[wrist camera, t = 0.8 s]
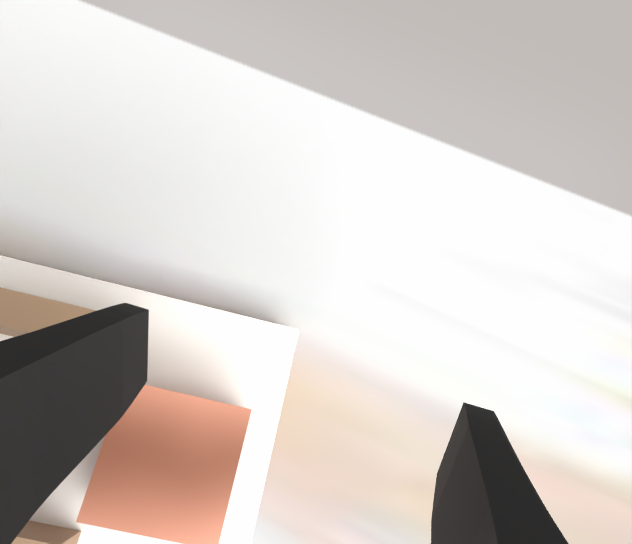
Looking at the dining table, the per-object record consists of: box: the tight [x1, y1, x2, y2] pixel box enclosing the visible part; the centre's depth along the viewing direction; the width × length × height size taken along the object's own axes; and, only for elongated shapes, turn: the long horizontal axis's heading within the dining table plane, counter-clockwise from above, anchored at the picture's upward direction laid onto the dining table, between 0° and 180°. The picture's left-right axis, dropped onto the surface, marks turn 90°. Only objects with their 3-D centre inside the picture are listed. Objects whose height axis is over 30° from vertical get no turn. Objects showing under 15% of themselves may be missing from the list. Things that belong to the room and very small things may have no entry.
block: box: [76, 385, 252, 544], centre depth 20 cm, size 5×5×4 cm
